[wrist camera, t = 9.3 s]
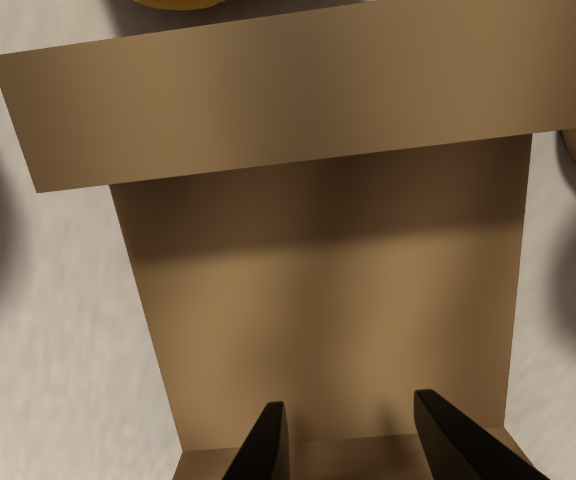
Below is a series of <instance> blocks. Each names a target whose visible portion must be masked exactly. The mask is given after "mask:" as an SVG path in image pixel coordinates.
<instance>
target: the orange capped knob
mask: <svg viewBox="0 0 576 480" xmlns="http://www.w3.org/2000/svg"><path fill="white" fill-rule="evenodd" d="M561 132H562V136H563V139H564V142H565V144H566V147H567V149H568V150H569V152H570V154H571V156H572V157H573V159H574V160H575V161H576V128H572V129H564V130H561Z"/></svg>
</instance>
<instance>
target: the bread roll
mask: <svg viewBox="0 0 576 480" xmlns="http://www.w3.org/2000/svg"><path fill="white" fill-rule="evenodd" d="M133 1H135V2H138V3H140V4H143V5H146V6H149V7H153V8H157V9H168V10H196V9H203V8H209V7H211V6H214V5H216V4H218V3H220V2H223V1H225V0H133Z"/></svg>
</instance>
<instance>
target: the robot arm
mask: <svg viewBox="0 0 576 480" xmlns="http://www.w3.org/2000/svg"><path fill="white" fill-rule="evenodd" d="M414 422H415V426H416V429H417V432H418V435H419V438H420V441H421V444H422V447H423V450H424V453H425V456H426V459H427V462H428V465H429V468H430V471H431V474H432V477H433V480H550V479H549V478H547V477H546V476H545V475H544V474H542V473H541V472H540V471H538V470H537V469H536V468H534V467H533V466H532V465H531V464H529V463H528V462H527V461H525V460H524V459H523V458H521V457H520V456H519V455H518V454H516V453H515V452H514V451H512V450H511V449H510V448H508V447H507V446H506V445H505V444H503V443H502V442H501V441H499V440H498V439H497V438H495V437H494V436H493V435H492V434H490V433H489V432H488V431H486V430H485V429H484V428H482V427H481V426H480V425H479V424H477V423H476V422H475V421H473V420H472V419H471V418H469V417H468V416H467V415H466V414H464V413H463V412H462V411H460V410H459V409H458V408H456V407H455V406H454V405H453V404H451V403H450V402H449V401H447V400H446V399H445V398H443V397H442V396H441V395H440V394H438V393H437V392H436V391H434V390H432V389H418V390H415V391H414ZM221 480H290V465H289V431H288V423H287V416H286V410H285V404H284V402H283V401H273V402H268V403H267V404H266V406H265V407H264V409H263V411H262V412H261V414H260V416H259V417H258V419H257V421H256V422H255V424H254V426H253V427H252V429H251V431H250V432H249V434H248V436H247V437H246V439H245V441H244V442H243V444H242V446H241V447H240V449H239V451H238V452H237V454H236V456H235V457H234V459H233V460H232V462H231V464H230V465H229V467H228V469H227V470H226V472H225V474H224V475H223V477H222V479H221Z"/></svg>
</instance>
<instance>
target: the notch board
mask: <svg viewBox="0 0 576 480" xmlns="http://www.w3.org/2000/svg"><path fill="white" fill-rule="evenodd" d="M0 88H1V91H2V94H3V97H4V99H5V102H6V105H7V108H8V111H9V114H10V117H11V120H12V123H13V126H14V129H15V131H16V134H17V137H18V140H19V143H20V146H21V149H22V152H23V155H24V158H25V160H26V163H27V166H28V169H29V172H30V175H31V178H32V181H33V184H34V187H35V189H36V192H37V193H43V192H51V191H59V190H68V189H76V188H84V187H93V186H101V185H109V187H110V191H111V194H112V198H113V202H114V205H115V209H116V212H117V216H118V220H119V223H120V227H121V230H122V234H123V238H124V241H125V245H126V249H127V252H128V256H129V259H130V263H131V267H132V270H133V274H134V277H135V281H136V285H137V288H138V292H139V295H140V299H141V303H142V306H143V310H144V313H145V317H146V321H147V324H148V328H149V331H150V335H151V339H152V342H153V346H154V350H155V353H156V357H157V360H158V364H159V368H160V371H161V375H162V378H163V382H164V386H165V389H166V393H167V396H168V400H169V404H170V407H171V411H172V414H173V418H174V422H175V425H176V429H177V432H178V436H179V440H180V443H181V447H182V450H183V452H182V455H181V458H180V460H179V463H178V466H177V469H176V471H175V474H174V477H173V479H172V480H221V479H222V477H223V475H224V474H225V472H226V470H227V469H228V467H229V465H230V464H231V462H232V460H233V459H234V457H235V456H236V454H237V452H238V451H239V449H240V447H241V446H242V444H243V442H244V441H245V439H246V437H247V436H248V434H249V432H250V431H251V429H252V427H253V426H254V424H255V422H256V421H257V419H258V417H259V416H260V414H261V412H262V411H263V409H264V407H265V406H266V404H267V403H268V402H273V401H283V402H284V404H285V410H286V416H287V423H288V431H289V465H290V480H433V477H432V474H431V471H430V468H429V465H428V462H427V459H426V456H425V453H424V450H423V447H422V444H421V441H420V438H419V435H418V432H417V429H416V426H415V422H414V391H415V390H418V389H432V390H434V391H436V392H437V393H438V394H440V395H441V396H442V397H443V398H445V399H446V400H447V401H449V402H450V403H451V404H453V405H454V406H455V407H456V408H458V409H459V410H460V411H462V412H463V413H464V414H466V415H467V416H468V417H469V418H471V419H472V420H473V421H475V422H476V423H477V424H479V425H480V426H481V427H482V428H484V429H485V430H486V431H488V432H489V433H490V434H492V435H493V436H494V437H495V438H497V439H498V440H499V441H501V442H502V443H503V444H505V445H506V446H507V447H508V448H510V449H511V450H512V451H514V452H515V453H516V454H518V455H519V456H520V457H521V458H523V459H524V460H525V461H527V462H528V463H529V464H531V465H532V466H533V464H532V463H531V462H530V460H529V459H528V458H527V456H526V455H525V454H524V453H523V451H522V450H521V449H520V447H519V446H518V445H517V443H516V442H515V441H514V440H513V438H512V437H511V436H510V434H509V433H508V432H507V430H506V429H505V428H504V418H505V408H506V398H507V388H508V377H509V367H510V357H511V347H512V337H513V327H514V316H515V306H516V296H517V286H518V276H519V265H520V255H521V245H522V235H523V225H524V215H525V204H526V194H527V184H528V174H529V164H530V153H531V143H532V133H539V132H547V131H556V130H564V129H572V128H576V0H376V1H370V2H363V3H356V4H349V5H342V6H335V7H328V8H321V9H314V10H307V11H300V12H293V13H286V14H279V15H272V16H266V17H259V18H252V19H245V20H238V21H231V22H224V23H217V24H210V25H203V26H196V27H189V28H182V29H175V30H169V31H162V32H155V33H148V34H141V35H134V36H127V37H120V38H113V39H106V40H99V41H92V42H85V43H78V44H71V45H65V46H58V47H51V48H44V49H37V50H30V51H23V52H16V53H9V54H2V55H0ZM533 467H534V466H533ZM534 468H535V467H534Z"/></svg>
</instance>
